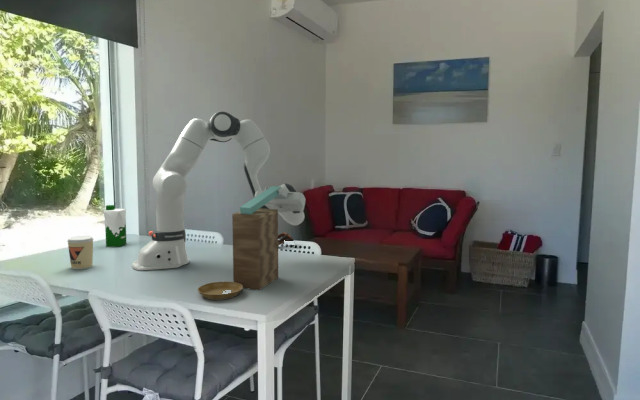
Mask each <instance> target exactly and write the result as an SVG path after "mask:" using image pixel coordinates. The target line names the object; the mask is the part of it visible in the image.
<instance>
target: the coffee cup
mask: <svg viewBox="0 0 640 400" xmlns="http://www.w3.org/2000/svg"><path fill="white" fill-rule="evenodd" d="M67 245H68V246H67V247H68V254H69V260H70V267H71V269H72V270H85V269H89V268H92V267H93V262H94V261H93V260H94V258H93V257H94V254H93V253H94V238H93V236H91V235H77V236H72V237H69V238H67Z"/></svg>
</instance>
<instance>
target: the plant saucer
mask: <svg viewBox="0 0 640 400" xmlns="http://www.w3.org/2000/svg"><path fill="white" fill-rule="evenodd" d="M242 289H244V288H243V286H242V285H241V284H239V283H235V282H233V281H214V282H209V283H205V284H202V285H200V286H199V287H198V288H197V291H198V293H199V294H200V295H201V296H203V297H204V298H205V299H208V300H213V301H214V300H215V301H218V300H219V301H220V300H221V299H222V300H229V299H232V298H235V297H236V296H238V294H239V293H241V291H242ZM225 290H231V293H228V294H222V293H223V291H225ZM225 292H226V291H225ZM234 296H235V297H234ZM228 298H229V299H228Z"/></svg>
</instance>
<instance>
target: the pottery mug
mask: <svg viewBox="0 0 640 400" xmlns="http://www.w3.org/2000/svg"><path fill="white" fill-rule="evenodd" d="M284 240H285V241H294V238H293V237H292V236H291V235H290V234H289V233H287V232H282V233H278V246H279V245H280V246H281V245H285V242H284ZM294 242H295V241H294Z"/></svg>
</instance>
